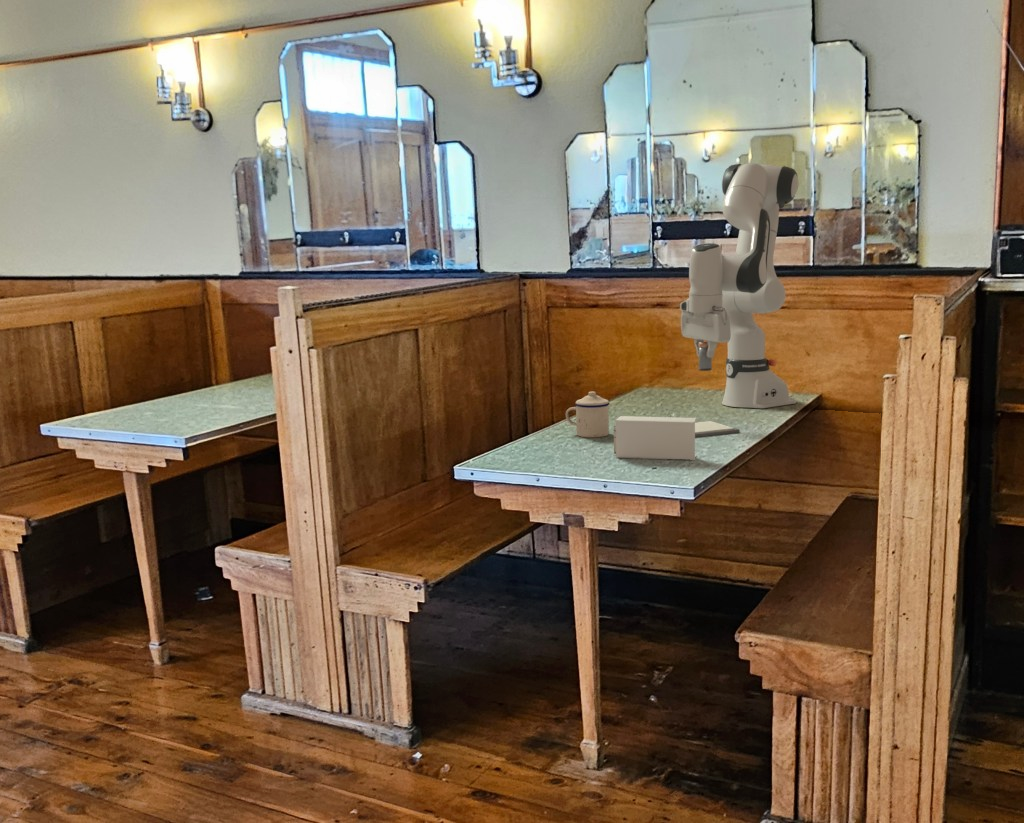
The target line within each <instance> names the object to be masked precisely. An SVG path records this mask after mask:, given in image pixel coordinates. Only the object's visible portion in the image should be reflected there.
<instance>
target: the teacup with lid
mask: <svg viewBox="0 0 1024 823" xmlns="http://www.w3.org/2000/svg"><path fill="white" fill-rule="evenodd" d="M587 394H588V395H585V396H584V397H582V398H581V399H580V398H579V399H577V400H576V401H575V403H574V404H575V406H572V407H569V408H568V409H567V410H566V411H565V419H566V421H567V422H568V424H570V425H571V426H575V427H576V435H577V436H578V437H582V438H589V439H590V438H592V439H594V438H604V437H606V436H609V434H610V425H609V422H610V418H609V417H610V415H609V414H610V413H609V412H610V410H609V409H610V407H609V405H610V402H609V400H608V399H606V398H604V397H601V396H600V395H598V394H597V392H596V391H589V392H588V393H587ZM571 411H575V413H576V415H575V416H576V421H572V420H571V418H570V412H571Z"/></svg>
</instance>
